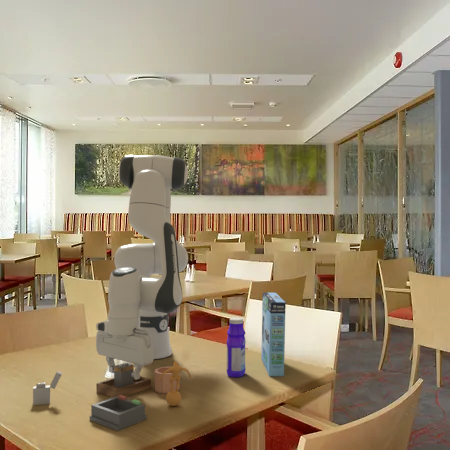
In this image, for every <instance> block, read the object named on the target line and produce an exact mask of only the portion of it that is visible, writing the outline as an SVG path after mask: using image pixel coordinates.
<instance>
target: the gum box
mask: <svg viewBox="0 0 450 450" xmlns="http://www.w3.org/2000/svg"><path fill="white" fill-rule="evenodd" d="M286 304H287V303H286V301H285V300H284V299H283V298H282V297H281V296H280V295H279V294H278V293H277V292H262V307H261V309H262V311H261V353H260V355H261V358H260V359H261V361H262V362H263V363H262V364H264V367H265V369H266V373H267V374H268V376H269V378H271V377H275V378H276V377H278V378H279V377H285V345H286V342H285V341H286V338H285V337H286V308H287V307H286Z"/></svg>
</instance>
